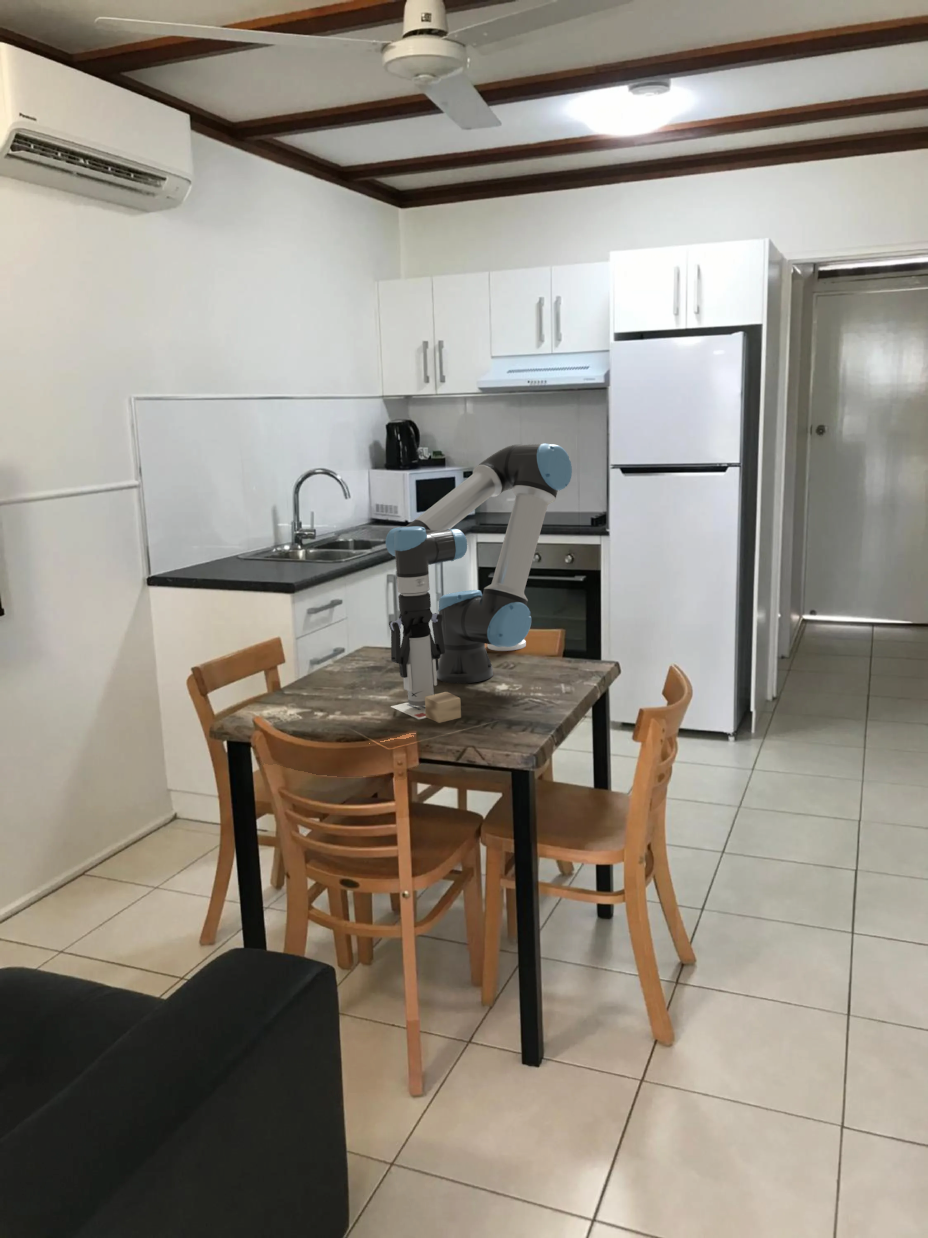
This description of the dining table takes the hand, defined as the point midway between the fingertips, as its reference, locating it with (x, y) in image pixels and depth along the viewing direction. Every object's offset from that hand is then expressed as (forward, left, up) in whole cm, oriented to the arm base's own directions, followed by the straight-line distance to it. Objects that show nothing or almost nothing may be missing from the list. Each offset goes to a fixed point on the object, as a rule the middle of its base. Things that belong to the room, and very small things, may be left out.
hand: (420, 687), depth 240 cm
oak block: (+9, 0, -6) cm, 11 cm away
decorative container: (-38, +52, -6) cm, 65 cm away
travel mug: (0, 0, -4) cm, 4 cm away
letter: (0, 0, -6) cm, 6 cm away
